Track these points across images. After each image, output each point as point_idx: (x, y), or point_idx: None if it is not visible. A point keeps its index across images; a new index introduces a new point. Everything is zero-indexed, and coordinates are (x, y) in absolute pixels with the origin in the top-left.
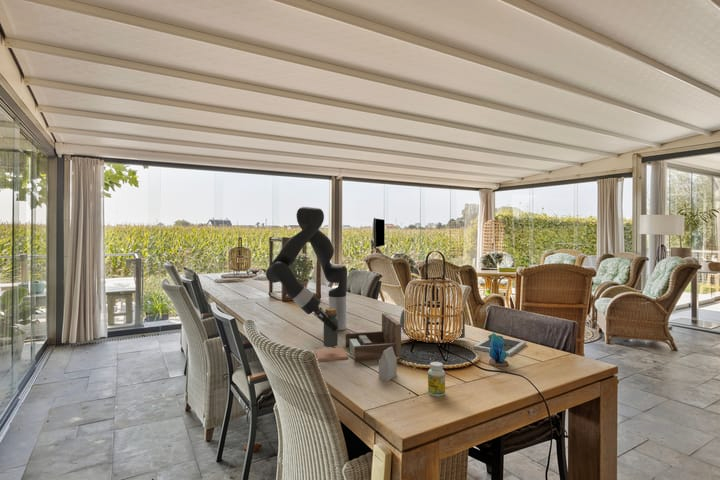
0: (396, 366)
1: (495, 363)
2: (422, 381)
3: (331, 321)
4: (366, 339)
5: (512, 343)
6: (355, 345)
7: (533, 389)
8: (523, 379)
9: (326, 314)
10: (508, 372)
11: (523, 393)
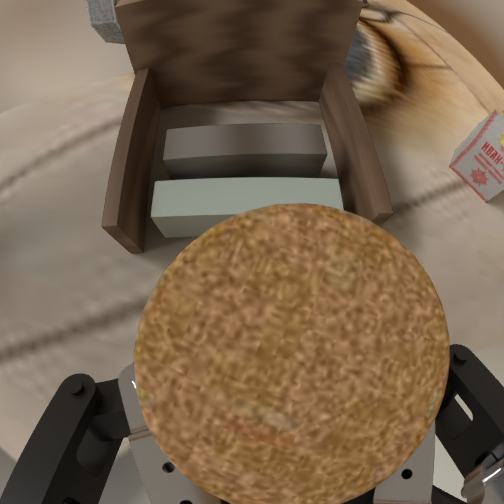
0: (467, 137)
1: (365, 3)
2: (472, 121)
3: (458, 345)
4: (254, 133)
5: None
6: (286, 202)
7: (445, 33)
8: (415, 18)
9: (432, 436)
10: (391, 13)
11: (461, 47)
